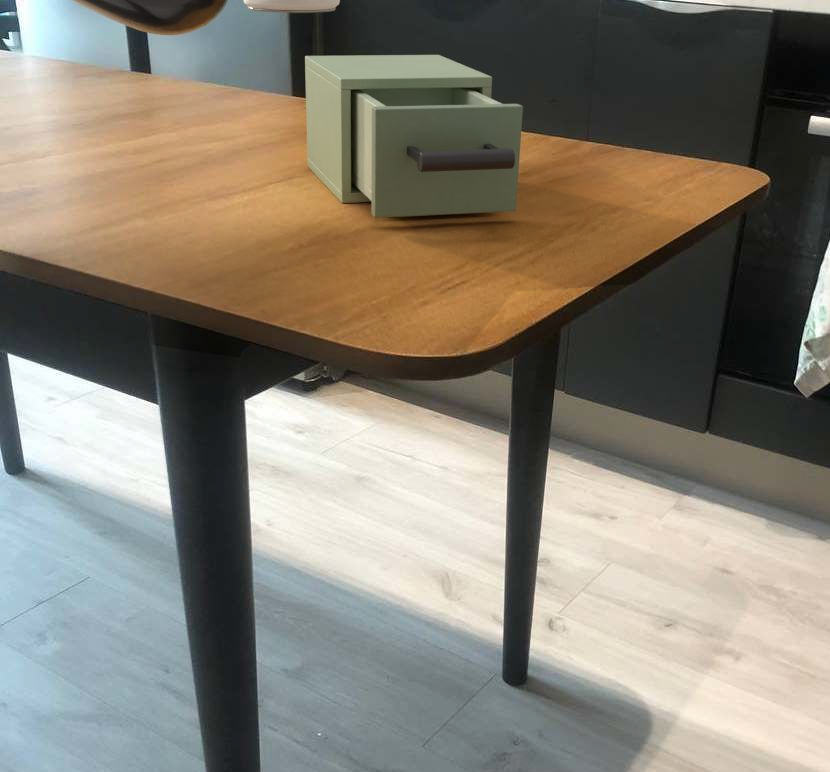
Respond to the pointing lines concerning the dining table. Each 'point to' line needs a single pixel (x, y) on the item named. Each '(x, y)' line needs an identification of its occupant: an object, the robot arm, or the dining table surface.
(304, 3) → the can
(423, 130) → the drawer
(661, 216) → the dining table surface
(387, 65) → the cabinet
